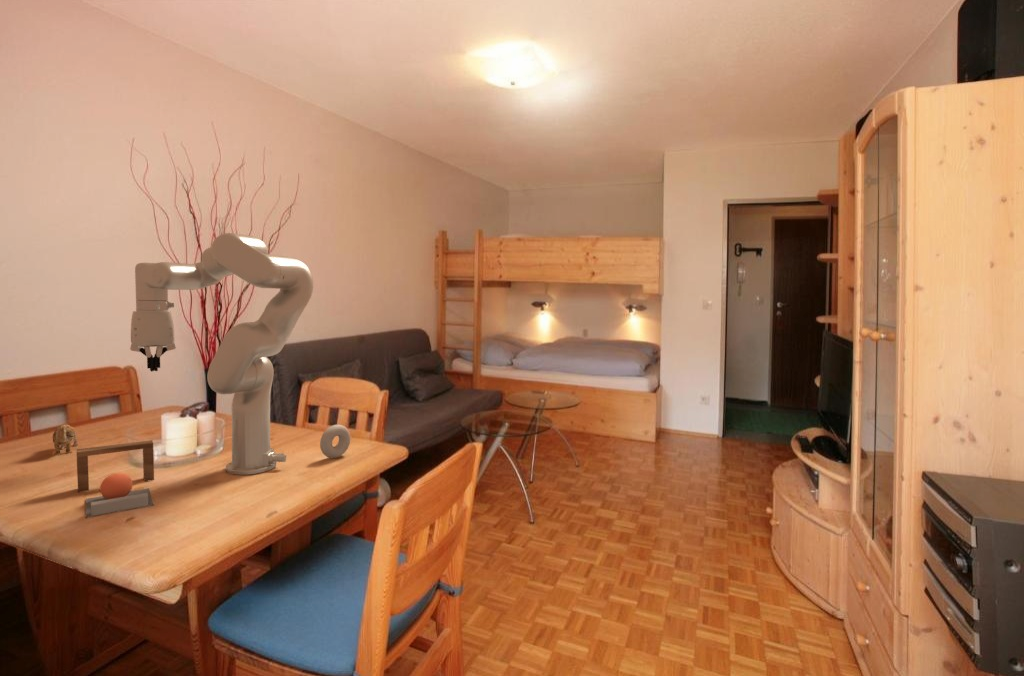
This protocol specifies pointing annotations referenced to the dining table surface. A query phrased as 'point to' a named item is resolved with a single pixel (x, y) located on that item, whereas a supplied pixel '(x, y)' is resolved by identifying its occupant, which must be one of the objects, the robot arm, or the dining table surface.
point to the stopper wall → (119, 504)
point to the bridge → (85, 452)
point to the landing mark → (95, 499)
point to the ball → (116, 486)
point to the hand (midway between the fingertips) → (153, 370)
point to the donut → (328, 438)
